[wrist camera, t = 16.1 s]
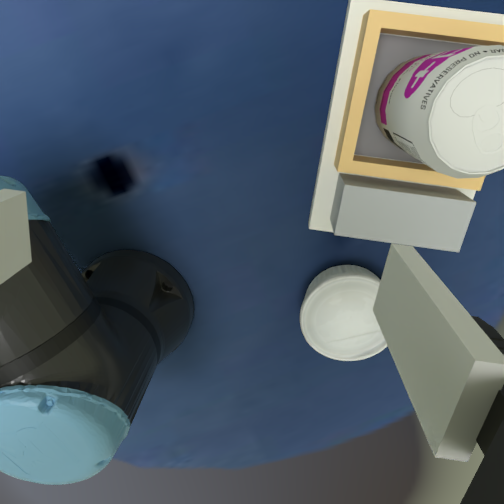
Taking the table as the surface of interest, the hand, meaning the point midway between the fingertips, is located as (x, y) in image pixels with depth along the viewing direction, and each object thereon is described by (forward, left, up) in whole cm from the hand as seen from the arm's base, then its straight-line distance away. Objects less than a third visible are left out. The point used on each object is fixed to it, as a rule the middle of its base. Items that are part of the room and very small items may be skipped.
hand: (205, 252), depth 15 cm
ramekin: (-18, -13, -32) cm, 38 cm away
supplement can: (+5, -14, -29) cm, 33 cm away
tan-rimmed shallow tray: (+2, -15, -31) cm, 34 cm away
